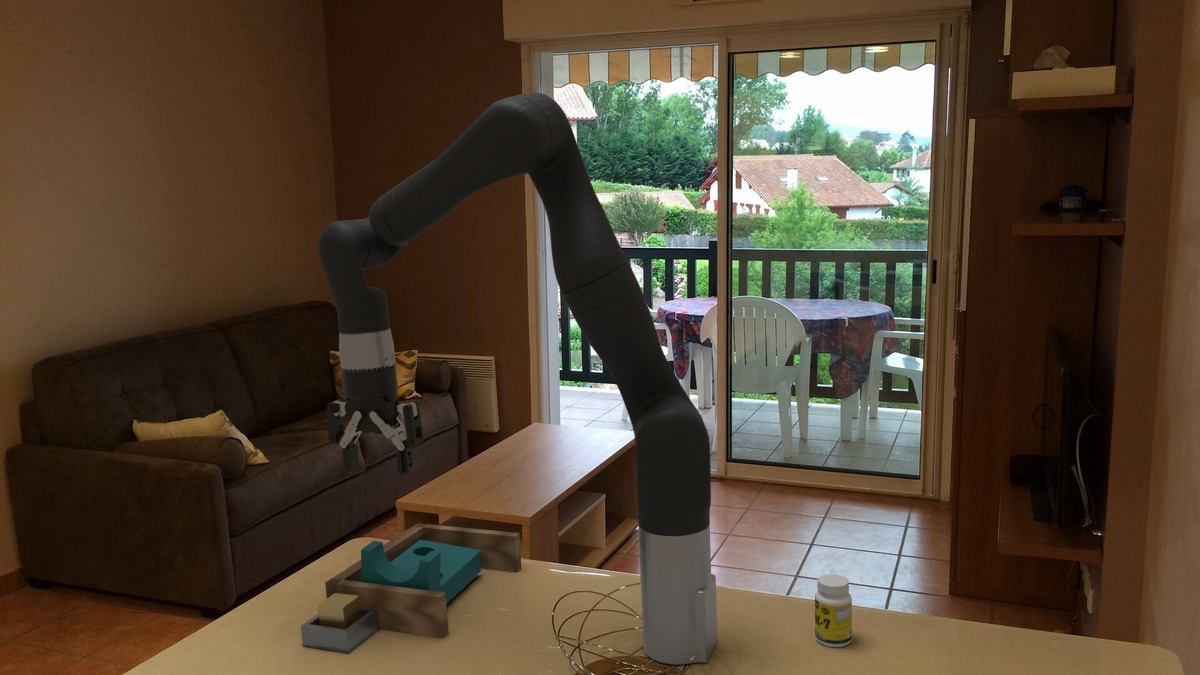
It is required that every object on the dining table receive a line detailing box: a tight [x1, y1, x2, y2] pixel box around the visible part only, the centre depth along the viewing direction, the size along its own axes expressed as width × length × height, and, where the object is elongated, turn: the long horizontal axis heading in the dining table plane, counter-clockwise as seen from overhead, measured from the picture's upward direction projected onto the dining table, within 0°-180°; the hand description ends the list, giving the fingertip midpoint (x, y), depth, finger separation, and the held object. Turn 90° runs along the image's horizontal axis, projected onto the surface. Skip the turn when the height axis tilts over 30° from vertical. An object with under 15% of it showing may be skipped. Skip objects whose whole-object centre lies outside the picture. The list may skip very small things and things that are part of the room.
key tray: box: [300, 607, 381, 654], centre depth 134 cm, size 8×8×3 cm
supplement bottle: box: [814, 573, 853, 648], centre depth 127 cm, size 5×5×8 cm
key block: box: [317, 593, 361, 629], centre depth 134 cm, size 4×4×5 cm
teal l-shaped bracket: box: [360, 540, 482, 604], centre depth 146 cm, size 18×11×10 cm, turn 163°
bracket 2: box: [324, 522, 522, 639], centre depth 147 cm, size 19×25×6 cm
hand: (379, 472), depth 138 cm, fingers open, 8 cm apart
